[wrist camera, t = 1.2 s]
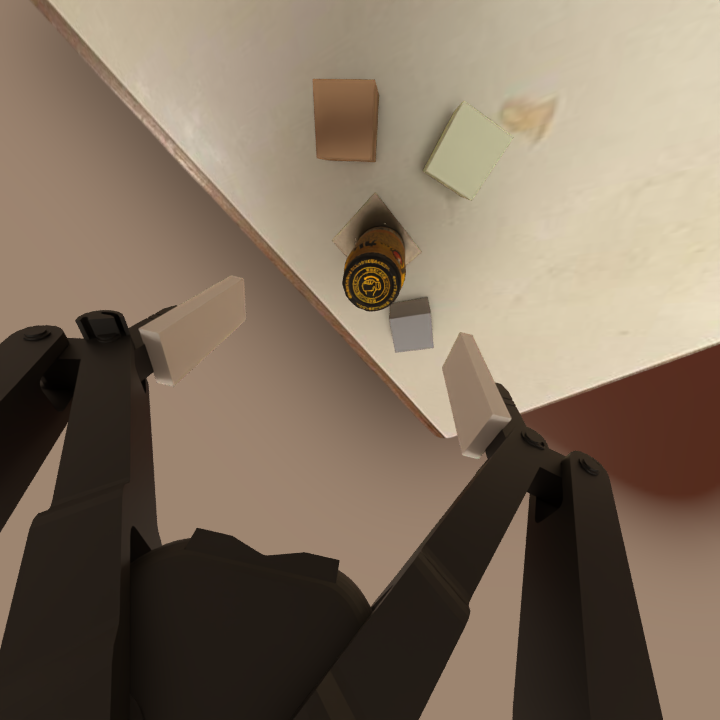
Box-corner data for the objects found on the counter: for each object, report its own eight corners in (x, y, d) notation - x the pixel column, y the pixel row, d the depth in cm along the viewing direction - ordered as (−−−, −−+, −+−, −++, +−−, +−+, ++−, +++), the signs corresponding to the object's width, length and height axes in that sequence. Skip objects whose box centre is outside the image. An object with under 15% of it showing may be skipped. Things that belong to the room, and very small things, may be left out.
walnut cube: (327, 94, 25) (312, 79, 21) (379, 95, 24) (374, 79, 20) (328, 160, 28) (316, 157, 24) (375, 161, 27) (371, 159, 23)
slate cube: (390, 303, 36) (389, 319, 32) (427, 297, 35) (430, 312, 31) (395, 334, 39) (395, 352, 35) (430, 329, 38) (433, 348, 34)
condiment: (377, 289, 35) (368, 333, 26) (332, 240, 32) (302, 268, 23) (421, 251, 32) (430, 285, 22) (375, 191, 29) (362, 200, 19)
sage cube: (453, 112, 24) (463, 100, 20) (496, 143, 25) (513, 137, 21) (422, 171, 27) (426, 170, 23) (461, 196, 28) (471, 200, 24)
